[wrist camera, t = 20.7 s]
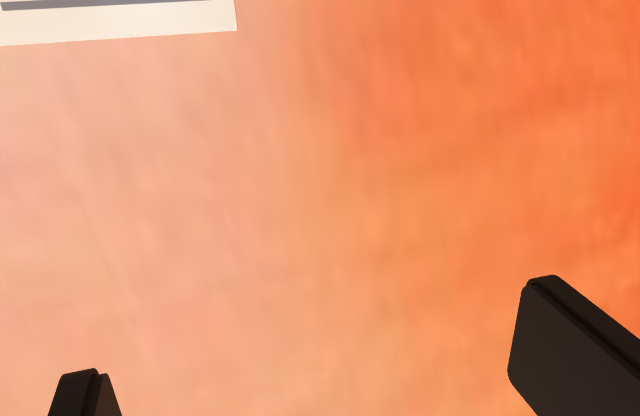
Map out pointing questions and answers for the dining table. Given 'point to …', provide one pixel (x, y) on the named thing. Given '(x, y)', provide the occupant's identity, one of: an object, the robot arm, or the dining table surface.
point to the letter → (109, 19)
